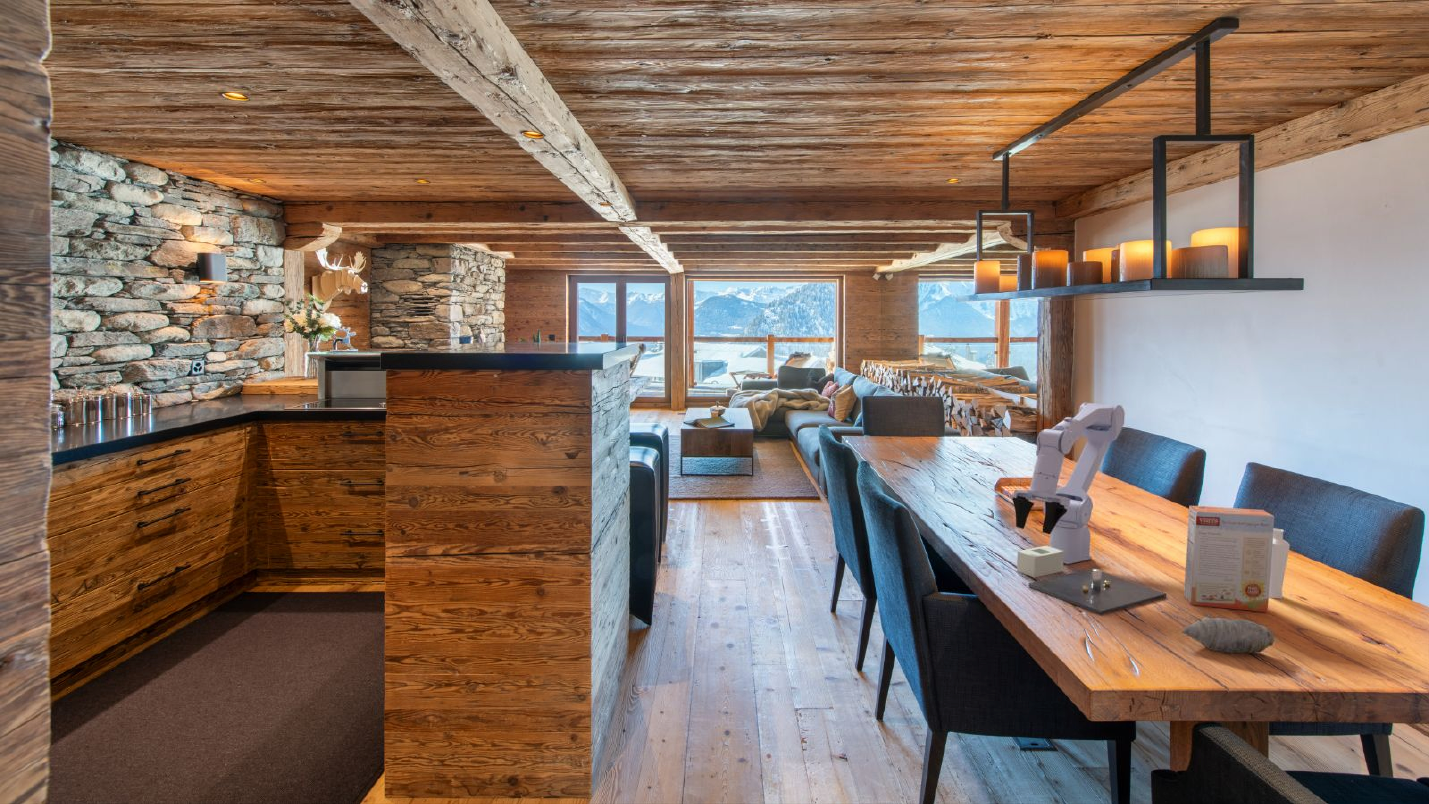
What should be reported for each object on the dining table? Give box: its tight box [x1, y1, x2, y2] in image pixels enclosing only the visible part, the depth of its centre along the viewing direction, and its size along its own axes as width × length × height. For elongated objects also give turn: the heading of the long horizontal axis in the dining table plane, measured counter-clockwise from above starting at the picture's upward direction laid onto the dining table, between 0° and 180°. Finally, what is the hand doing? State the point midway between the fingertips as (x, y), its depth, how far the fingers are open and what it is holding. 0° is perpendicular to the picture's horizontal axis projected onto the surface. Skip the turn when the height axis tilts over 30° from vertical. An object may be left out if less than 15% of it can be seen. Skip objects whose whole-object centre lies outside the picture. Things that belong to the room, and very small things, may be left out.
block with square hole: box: [1016, 545, 1064, 578], centre depth 173 cm, size 10×5×5 cm, turn 116°
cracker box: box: [1183, 505, 1275, 613], centre depth 152 cm, size 14×6×21 cm, turn 71°
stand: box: [1028, 568, 1167, 616], centre depth 160 cm, size 22×18×5 cm
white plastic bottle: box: [1269, 527, 1291, 599], centre depth 157 cm, size 5×4×15 cm
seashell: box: [1181, 617, 1275, 654], centre depth 131 cm, size 6×14×8 cm, turn 75°
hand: (1032, 530), depth 172 cm, fingers open, 7 cm apart
